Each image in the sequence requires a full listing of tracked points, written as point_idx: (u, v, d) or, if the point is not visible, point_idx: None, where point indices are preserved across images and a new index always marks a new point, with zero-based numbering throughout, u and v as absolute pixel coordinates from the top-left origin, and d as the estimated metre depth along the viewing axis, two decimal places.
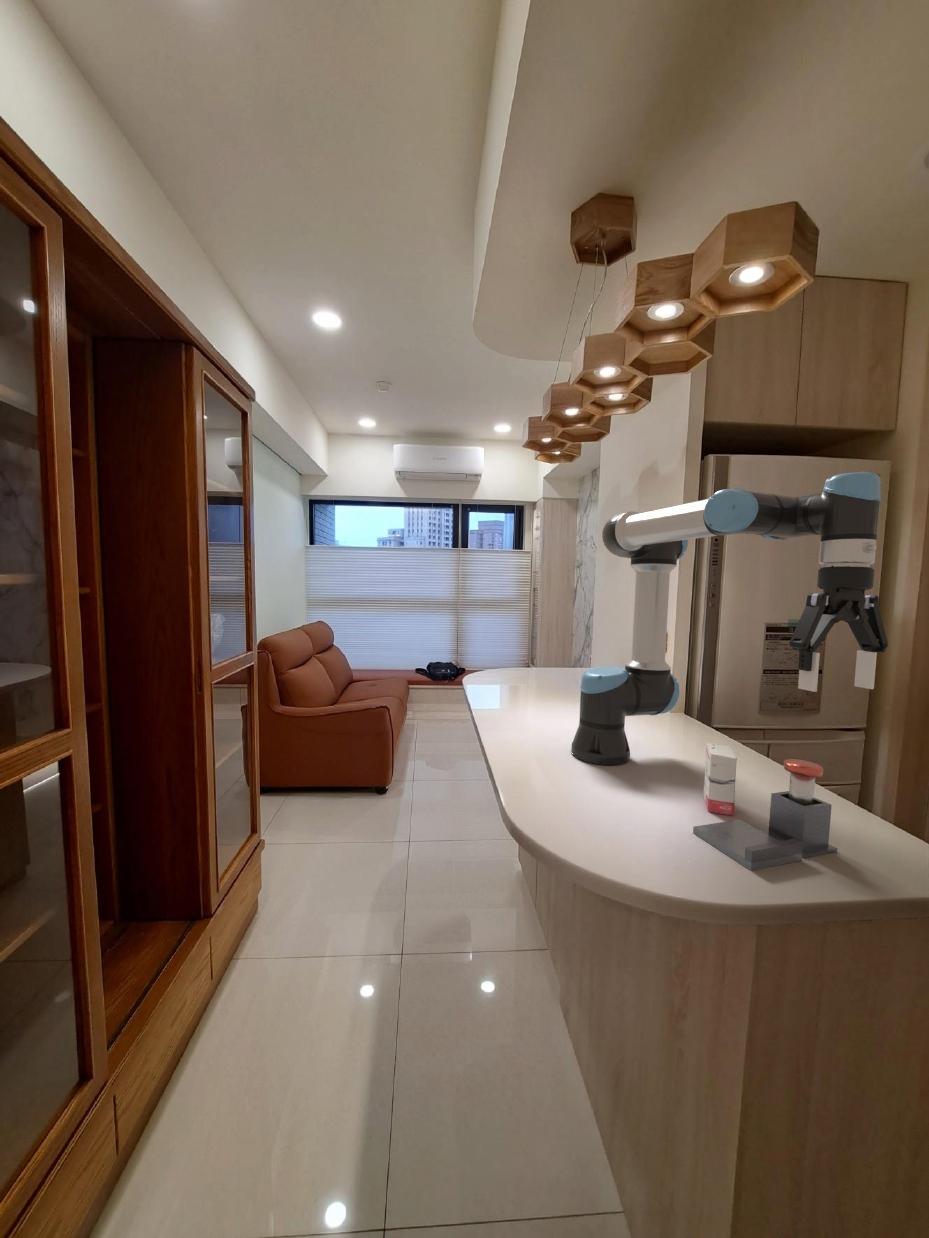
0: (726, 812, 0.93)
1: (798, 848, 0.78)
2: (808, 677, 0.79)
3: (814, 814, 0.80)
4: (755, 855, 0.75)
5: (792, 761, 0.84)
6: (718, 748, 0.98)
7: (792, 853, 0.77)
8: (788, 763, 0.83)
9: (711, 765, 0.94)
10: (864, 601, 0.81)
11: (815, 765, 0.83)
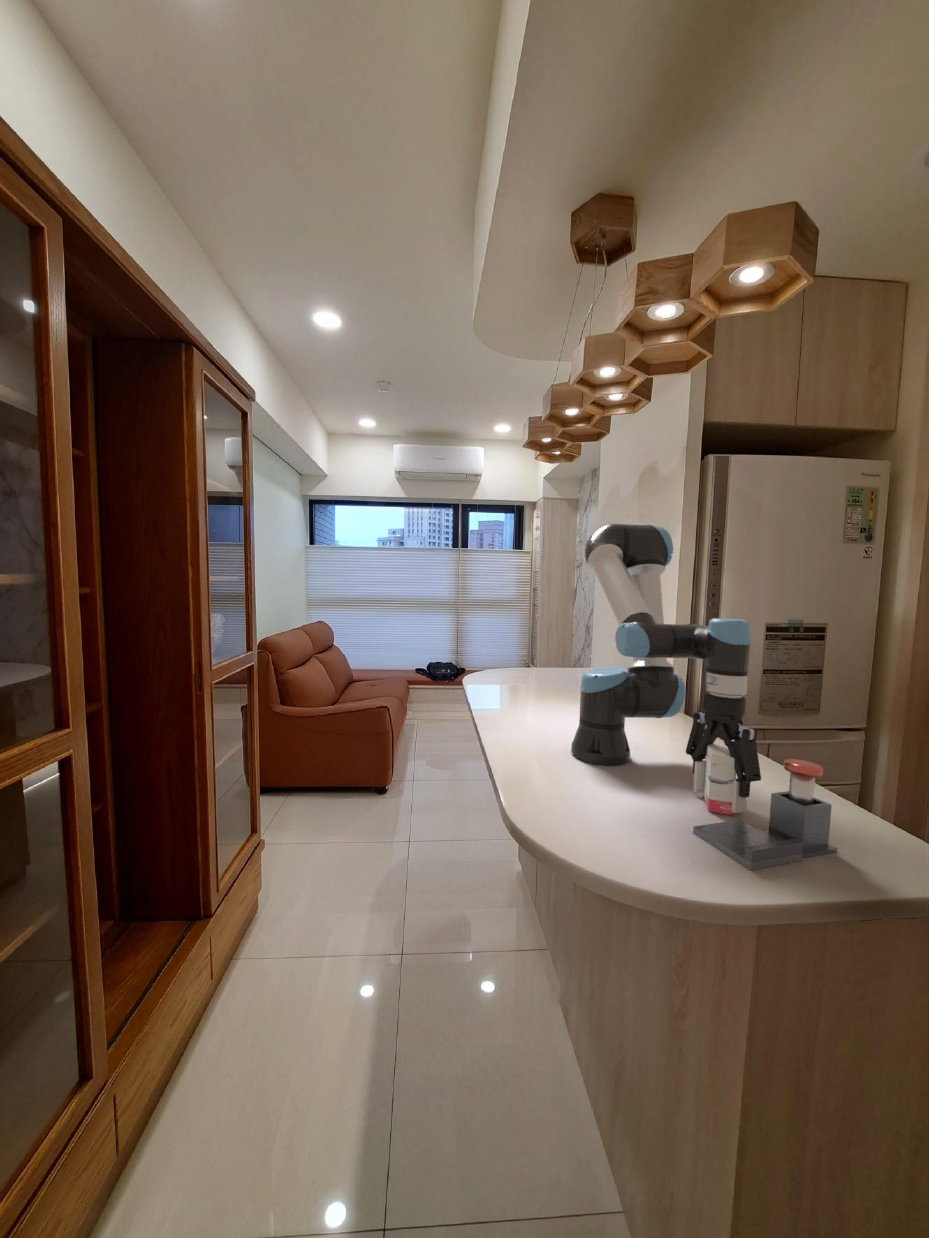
0: (726, 812, 0.93)
1: (798, 848, 0.78)
2: None
3: (814, 814, 0.80)
4: (755, 855, 0.75)
5: (792, 761, 0.84)
6: (718, 748, 0.98)
7: (792, 853, 0.77)
8: (788, 763, 0.83)
9: (711, 765, 0.94)
10: (733, 727, 0.93)
11: (815, 765, 0.83)
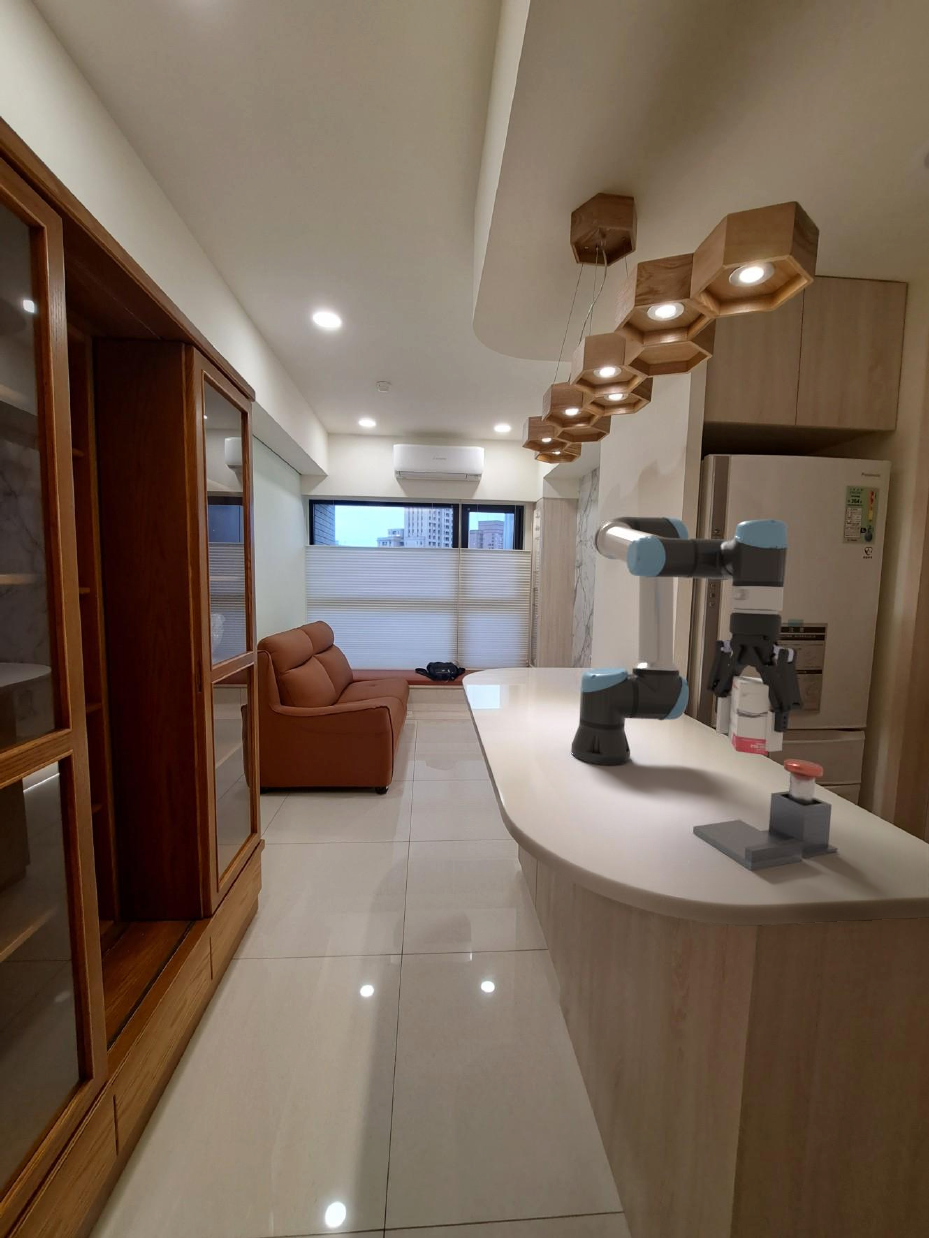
0: (759, 751, 0.77)
1: (798, 848, 0.78)
2: None
3: (814, 814, 0.80)
4: (755, 855, 0.75)
5: (792, 761, 0.84)
6: (747, 678, 0.82)
7: (792, 853, 0.77)
8: (788, 763, 0.83)
9: (740, 695, 0.78)
10: (766, 649, 0.77)
11: (815, 765, 0.83)
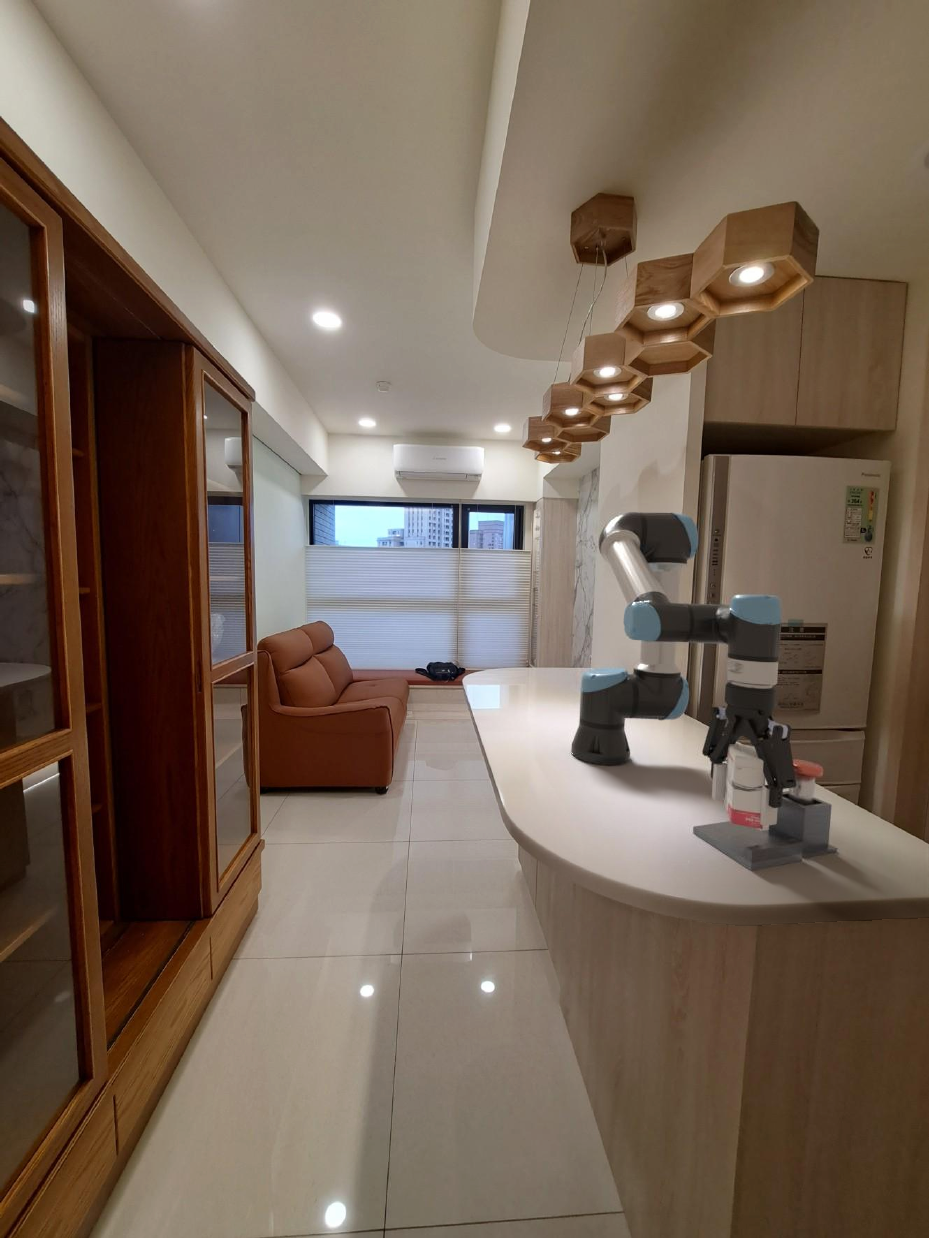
0: (753, 825, 0.78)
1: (798, 848, 0.78)
2: None
3: (814, 814, 0.80)
4: (755, 855, 0.75)
5: None
6: (742, 748, 0.83)
7: (792, 853, 0.77)
8: None
9: (735, 768, 0.79)
10: (761, 723, 0.78)
11: (815, 765, 0.83)
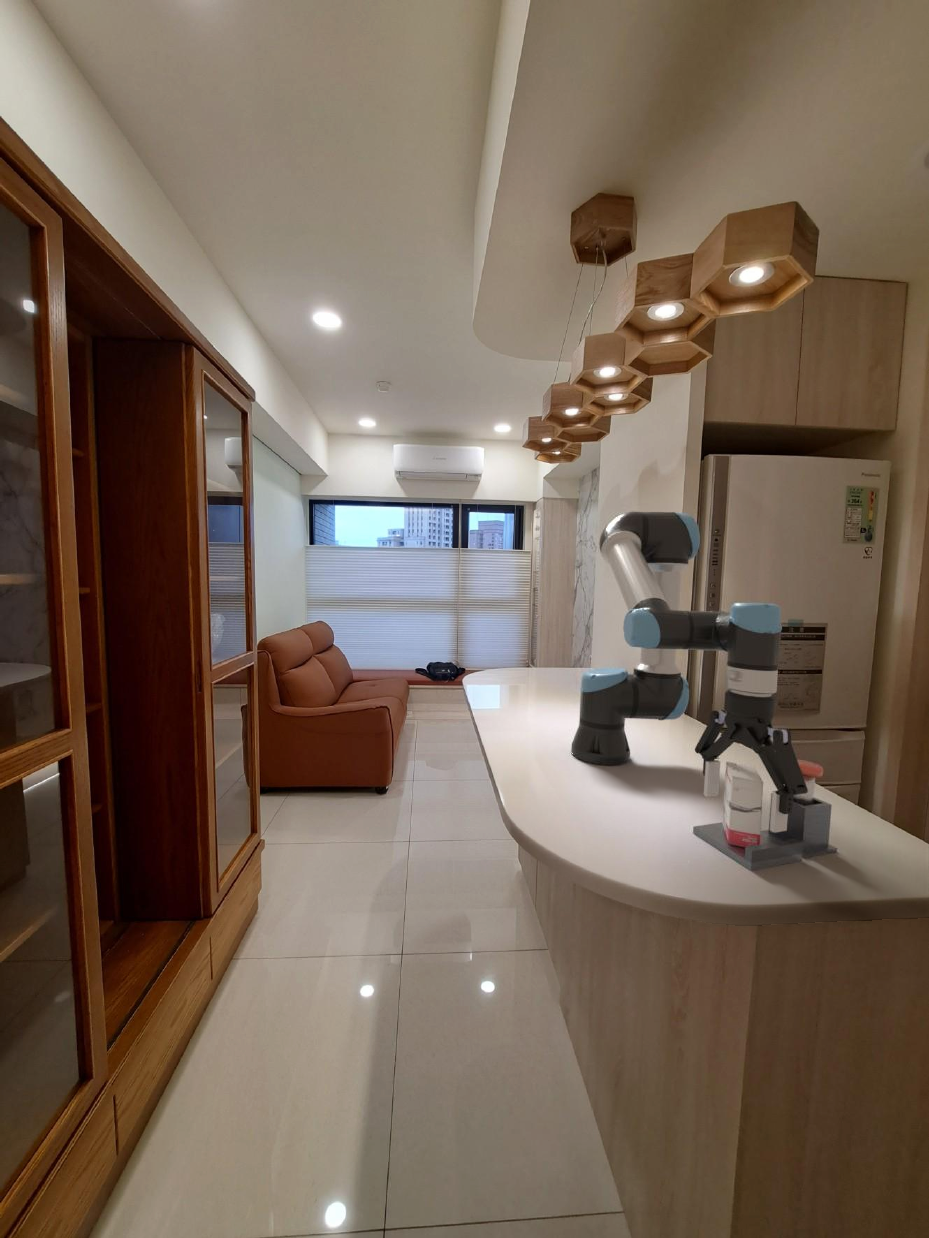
0: (750, 845, 0.79)
1: (798, 848, 0.78)
2: None
3: (814, 814, 0.80)
4: (755, 855, 0.75)
5: None
6: (740, 768, 0.83)
7: (792, 853, 0.77)
8: None
9: (732, 789, 0.79)
10: (761, 731, 0.78)
11: (815, 765, 0.83)
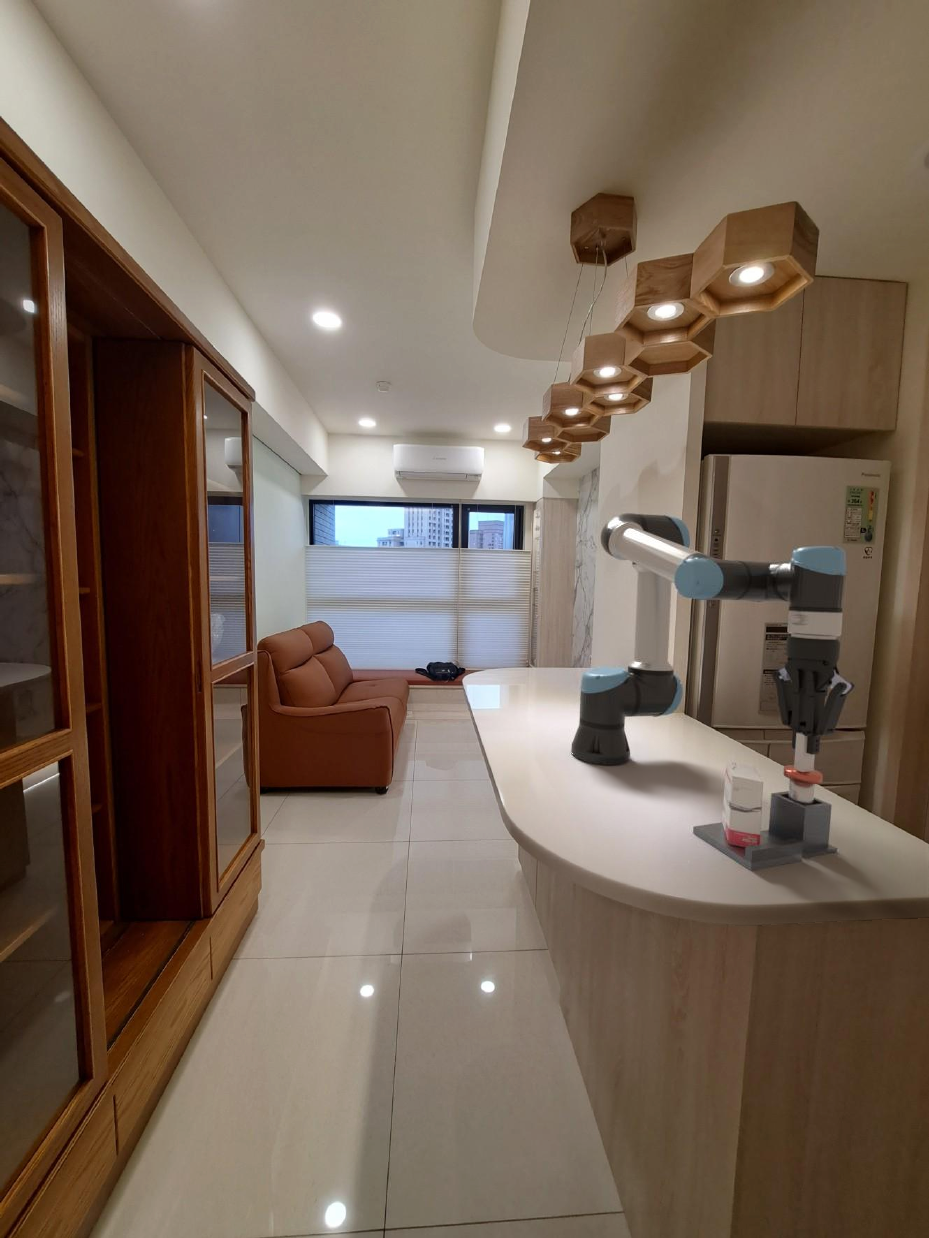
0: (750, 845, 0.79)
1: (798, 848, 0.78)
2: None
3: (814, 814, 0.80)
4: (755, 855, 0.75)
5: (792, 768, 0.84)
6: (740, 768, 0.83)
7: (792, 853, 0.77)
8: (787, 770, 0.83)
9: (732, 789, 0.79)
10: (825, 675, 0.78)
11: (815, 771, 0.83)
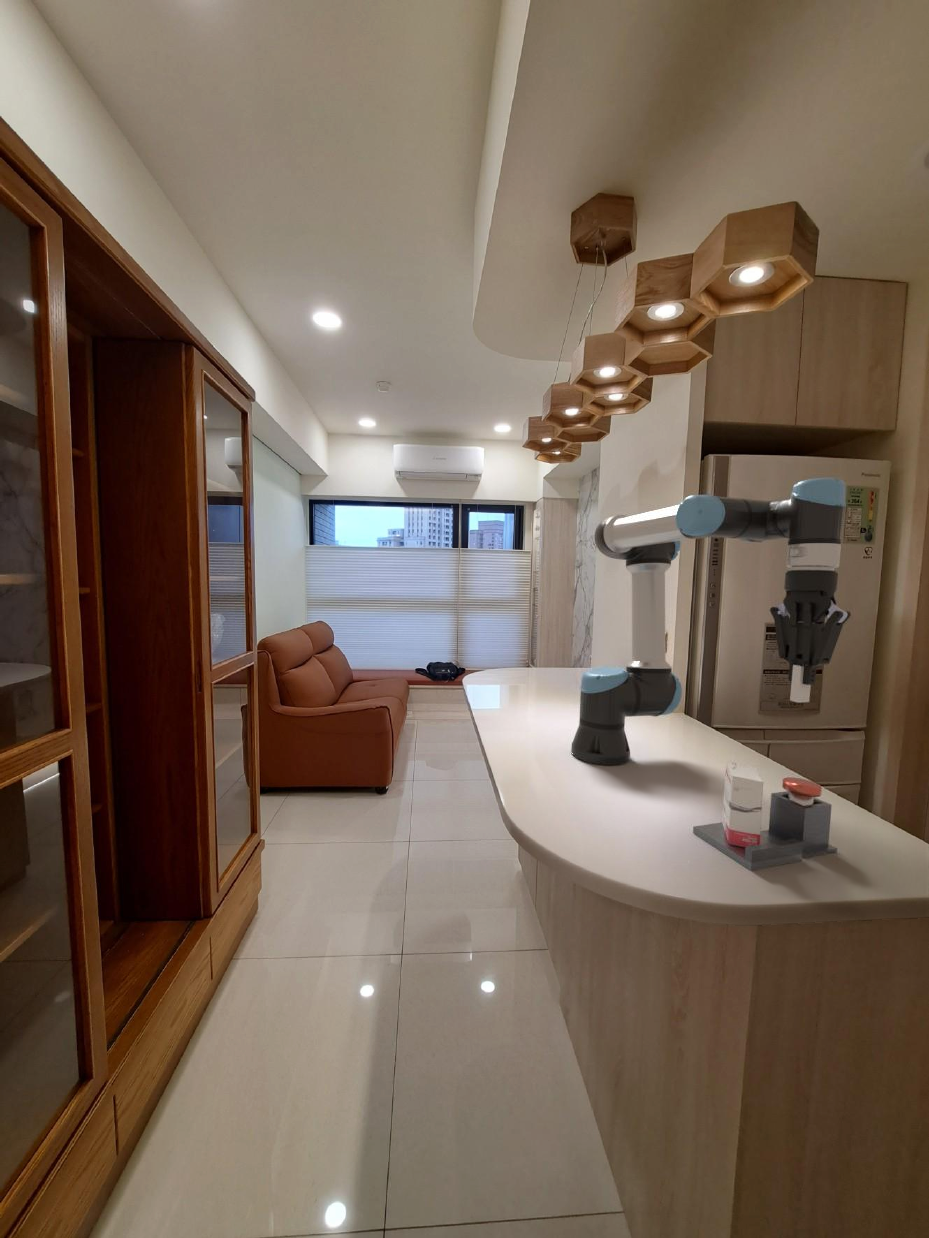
0: (750, 845, 0.79)
1: (798, 848, 0.78)
2: None
3: (814, 814, 0.80)
4: (755, 855, 0.75)
5: (791, 780, 0.84)
6: (740, 768, 0.83)
7: (792, 853, 0.77)
8: (786, 783, 0.83)
9: (732, 789, 0.79)
10: (822, 605, 0.80)
11: (814, 784, 0.83)
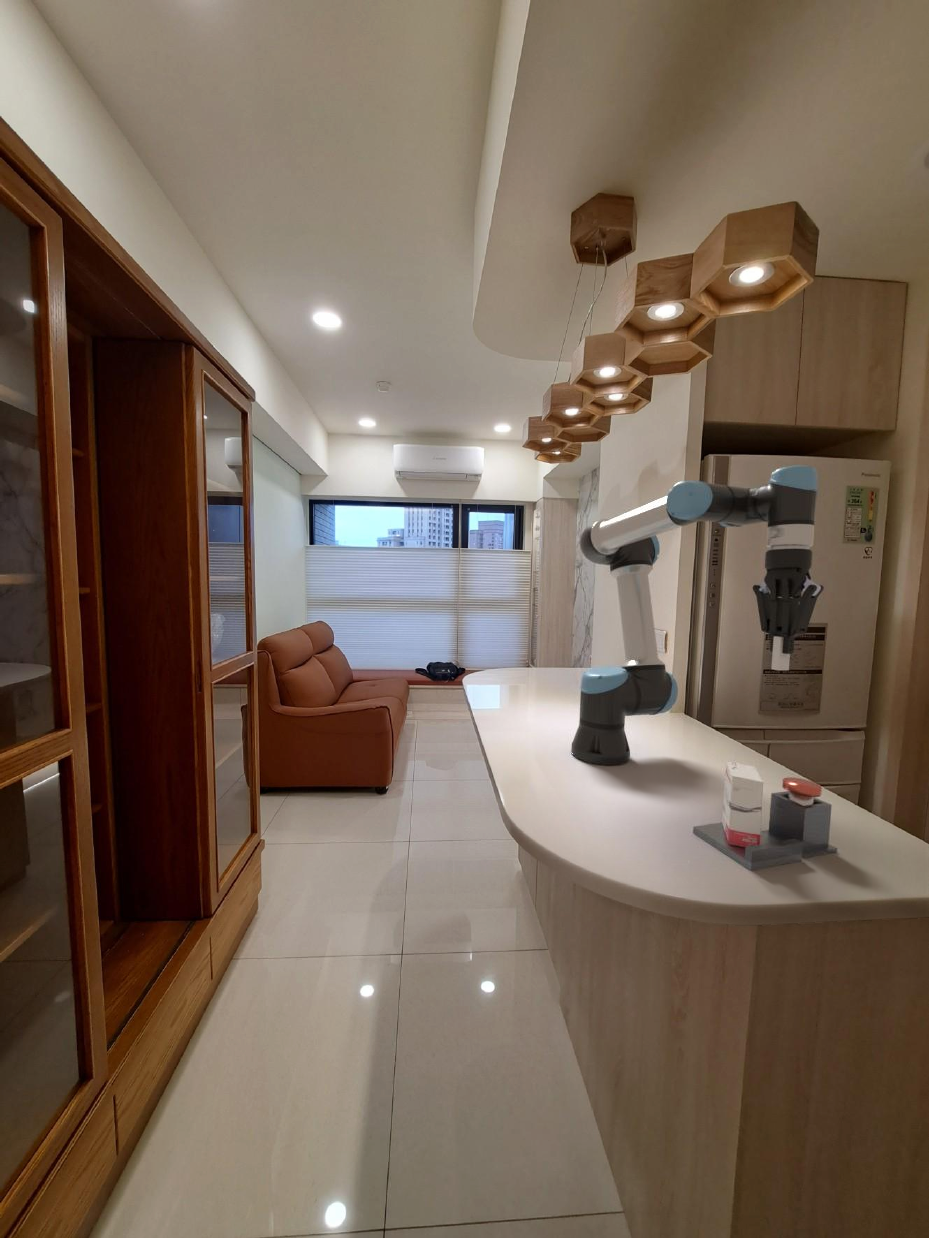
0: (750, 845, 0.79)
1: (798, 848, 0.78)
2: None
3: (814, 814, 0.80)
4: (755, 855, 0.75)
5: (791, 780, 0.84)
6: (740, 768, 0.83)
7: (792, 853, 0.77)
8: (786, 783, 0.83)
9: (732, 789, 0.79)
10: (799, 580, 0.88)
11: (814, 784, 0.83)
